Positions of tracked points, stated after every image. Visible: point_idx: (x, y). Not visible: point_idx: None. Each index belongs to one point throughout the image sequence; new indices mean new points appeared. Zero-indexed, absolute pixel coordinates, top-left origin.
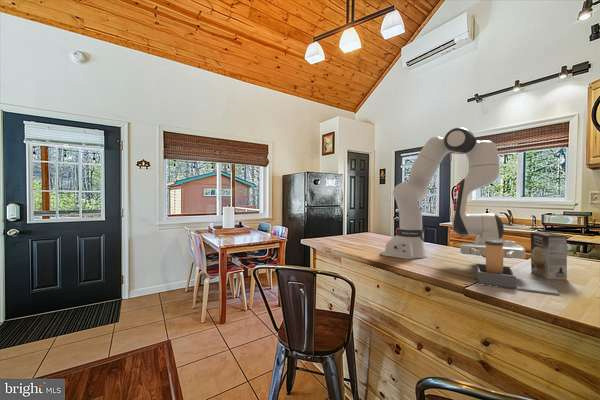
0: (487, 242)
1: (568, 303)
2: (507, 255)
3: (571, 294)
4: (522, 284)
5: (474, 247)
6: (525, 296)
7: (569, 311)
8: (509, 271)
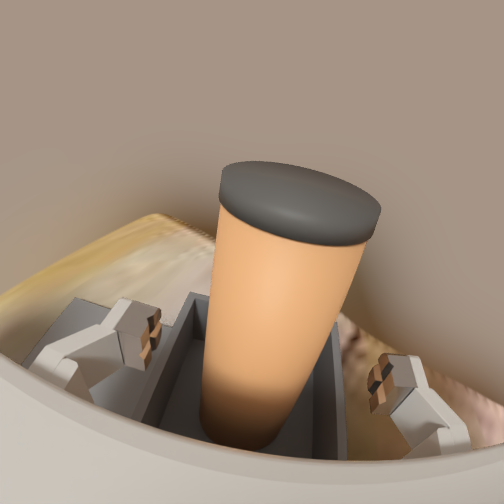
0: (353, 188)
1: (107, 264)
2: (156, 319)
3: (32, 311)
4: (133, 370)
5: (452, 455)
6: (190, 291)
7: (147, 238)
8: (155, 396)
